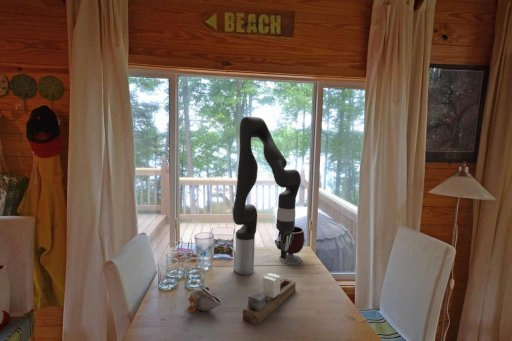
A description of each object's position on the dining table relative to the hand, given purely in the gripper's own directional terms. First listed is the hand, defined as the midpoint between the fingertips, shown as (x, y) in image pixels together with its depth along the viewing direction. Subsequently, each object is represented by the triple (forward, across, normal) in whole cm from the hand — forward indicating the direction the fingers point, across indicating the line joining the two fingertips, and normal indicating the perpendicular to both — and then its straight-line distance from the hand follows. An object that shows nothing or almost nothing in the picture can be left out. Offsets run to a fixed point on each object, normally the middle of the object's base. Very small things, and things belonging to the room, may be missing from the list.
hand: (283, 258), depth 123 cm
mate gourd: (+17, -34, -14) cm, 40 cm away
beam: (+16, +9, 0) cm, 18 cm away
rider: (+14, +9, 0) cm, 17 cm away
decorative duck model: (+16, +26, -19) cm, 36 cm away
